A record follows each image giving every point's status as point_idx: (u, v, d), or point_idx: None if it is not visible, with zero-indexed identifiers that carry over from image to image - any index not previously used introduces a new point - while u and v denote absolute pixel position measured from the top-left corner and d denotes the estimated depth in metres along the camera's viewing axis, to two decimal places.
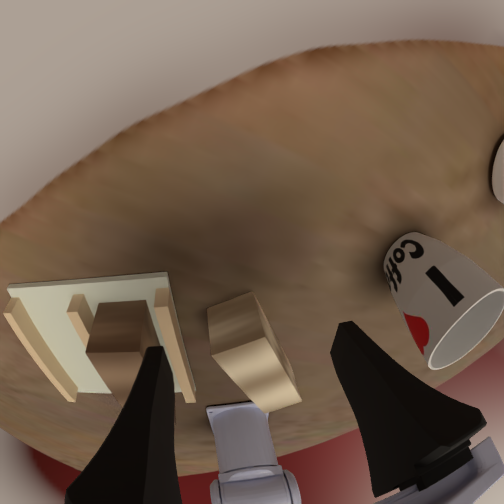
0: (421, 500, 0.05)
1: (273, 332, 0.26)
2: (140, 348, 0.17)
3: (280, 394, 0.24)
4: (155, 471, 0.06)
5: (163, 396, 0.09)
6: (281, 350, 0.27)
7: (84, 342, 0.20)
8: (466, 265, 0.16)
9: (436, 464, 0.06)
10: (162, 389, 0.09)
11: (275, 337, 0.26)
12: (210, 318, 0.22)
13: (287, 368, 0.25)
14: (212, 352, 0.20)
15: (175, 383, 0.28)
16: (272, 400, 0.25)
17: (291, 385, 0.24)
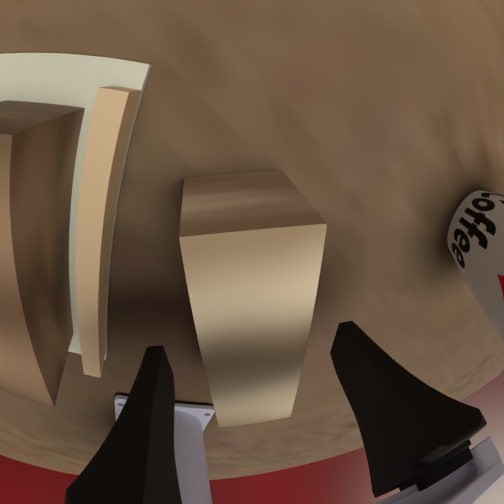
0: (421, 500, 0.05)
1: None
2: (20, 137, 0.05)
3: (268, 396, 0.13)
4: (155, 471, 0.06)
5: (163, 396, 0.09)
6: None
7: None
8: None
9: (436, 464, 0.06)
10: (162, 389, 0.09)
11: None
12: (189, 187, 0.10)
13: None
14: (183, 232, 0.08)
15: (75, 334, 0.14)
16: (247, 406, 0.13)
17: (296, 381, 0.12)
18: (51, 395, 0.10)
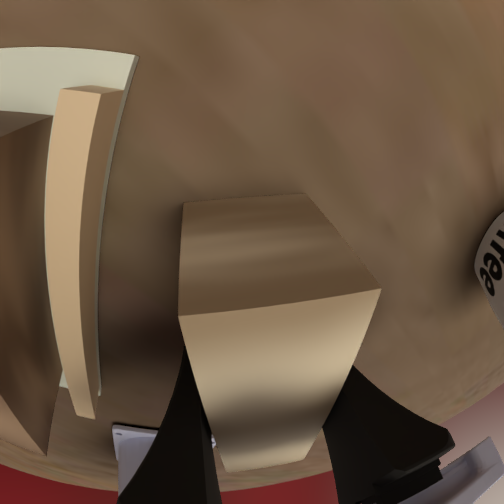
0: (421, 500, 0.05)
1: None
2: None
3: (282, 448, 0.10)
4: (207, 469, 0.06)
5: None
6: None
7: None
8: None
9: (398, 484, 0.06)
10: None
11: None
12: (190, 221, 0.08)
13: None
14: (184, 306, 0.05)
15: None
16: (258, 457, 0.11)
17: (314, 435, 0.10)
18: (41, 446, 0.07)
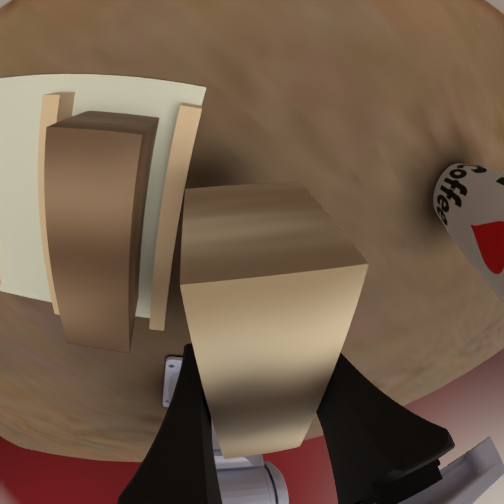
0: (421, 500, 0.05)
1: None
2: (143, 136, 0.10)
3: (278, 432, 0.11)
4: (208, 469, 0.06)
5: None
6: None
7: (40, 161, 0.11)
8: None
9: (397, 484, 0.06)
10: None
11: None
12: (191, 205, 0.08)
13: None
14: (185, 276, 0.06)
15: (139, 297, 0.19)
16: (255, 441, 0.11)
17: (310, 418, 0.11)
18: (129, 340, 0.15)
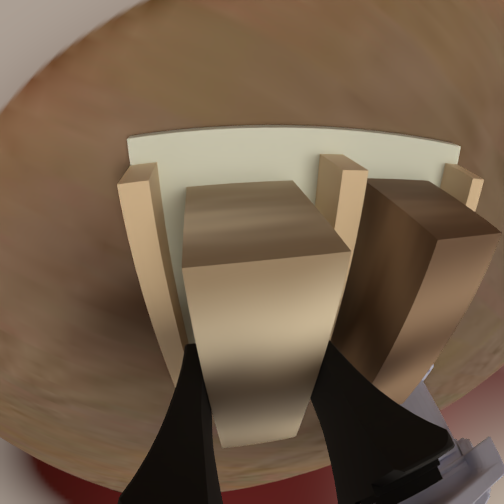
0: (421, 500, 0.05)
1: None
2: (494, 230, 0.08)
3: (274, 420, 0.12)
4: (209, 469, 0.06)
5: (206, 393, 0.09)
6: None
7: None
8: None
9: (397, 484, 0.06)
10: (205, 386, 0.09)
11: None
12: (192, 201, 0.09)
13: None
14: (186, 261, 0.07)
15: None
16: (252, 429, 0.12)
17: (304, 406, 0.11)
18: None
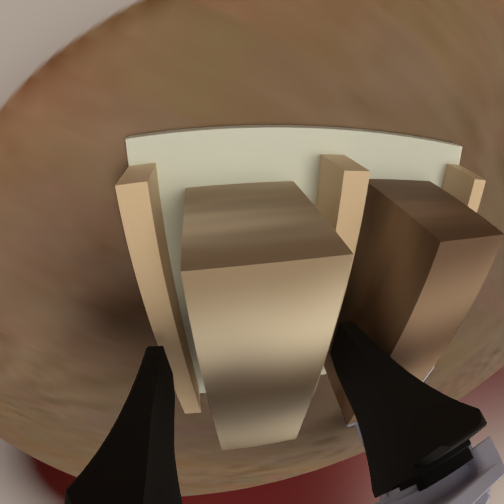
0: (421, 500, 0.05)
1: None
2: (496, 232, 0.08)
3: (274, 422, 0.11)
4: (155, 471, 0.06)
5: (163, 396, 0.09)
6: None
7: None
8: None
9: (436, 464, 0.06)
10: (162, 389, 0.09)
11: None
12: (192, 202, 0.09)
13: None
14: (185, 264, 0.06)
15: None
16: (252, 432, 0.12)
17: (305, 408, 0.11)
18: None
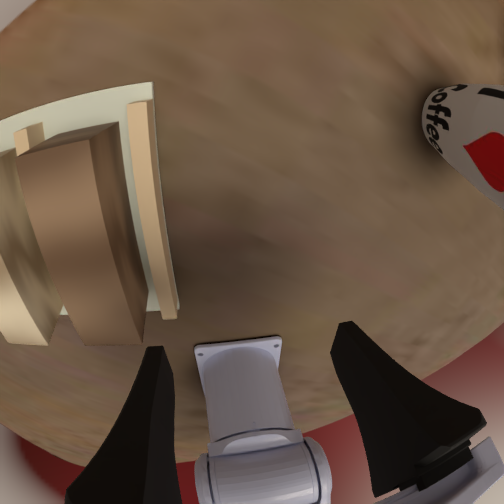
0: (421, 500, 0.05)
1: None
2: (92, 140, 0.10)
3: (13, 311, 0.13)
4: (155, 471, 0.06)
5: (163, 396, 0.09)
6: (40, 257, 0.16)
7: None
8: None
9: (436, 464, 0.06)
10: (162, 389, 0.09)
11: None
12: None
13: (31, 279, 0.14)
14: None
15: (150, 292, 0.20)
16: (8, 320, 0.14)
17: (20, 300, 0.13)
18: (138, 331, 0.16)
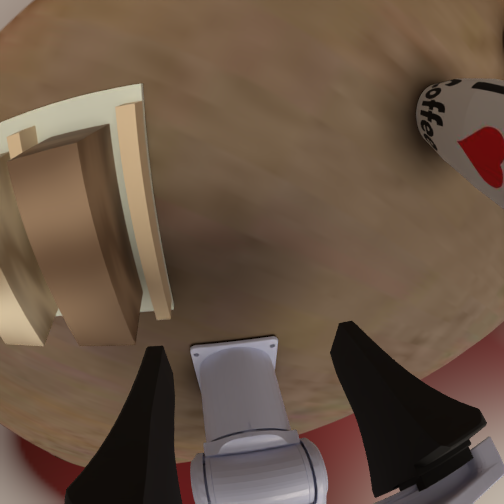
0: (421, 500, 0.05)
1: None
2: (80, 144, 0.10)
3: (9, 313, 0.13)
4: (155, 471, 0.06)
5: (163, 396, 0.09)
6: (35, 259, 0.16)
7: None
8: None
9: (436, 464, 0.06)
10: (162, 389, 0.09)
11: None
12: None
13: (26, 281, 0.14)
14: None
15: (144, 292, 0.20)
16: (4, 321, 0.14)
17: (15, 301, 0.13)
18: (131, 332, 0.16)
